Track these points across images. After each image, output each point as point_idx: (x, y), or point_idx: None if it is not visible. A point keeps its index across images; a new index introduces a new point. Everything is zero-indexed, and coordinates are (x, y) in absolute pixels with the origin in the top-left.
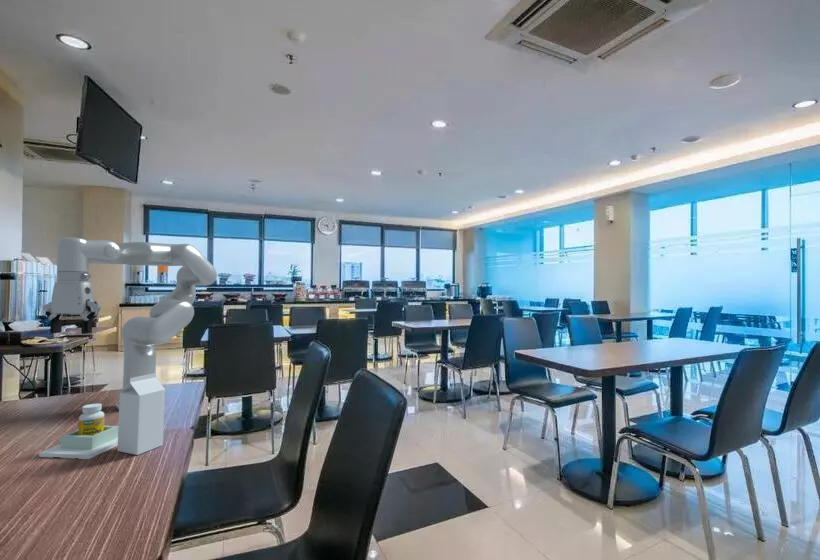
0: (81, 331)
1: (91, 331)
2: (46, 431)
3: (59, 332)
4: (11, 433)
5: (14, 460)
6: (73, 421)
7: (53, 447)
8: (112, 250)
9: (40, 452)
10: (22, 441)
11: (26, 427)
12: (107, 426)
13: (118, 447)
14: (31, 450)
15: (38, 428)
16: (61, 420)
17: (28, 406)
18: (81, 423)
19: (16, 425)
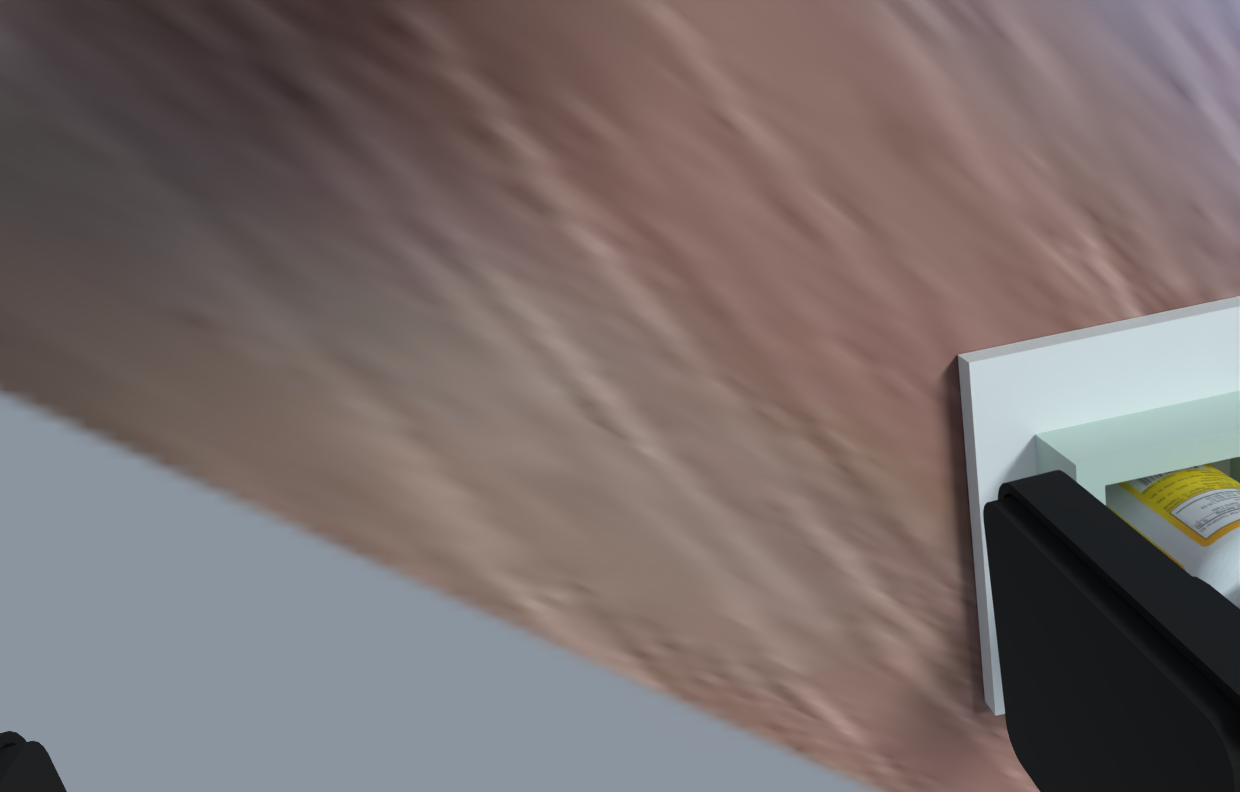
0: (1044, 789)
1: (1071, 493)
2: (536, 402)
3: (37, 770)
4: (329, 514)
5: (900, 768)
6: (470, 149)
7: (995, 640)
8: None
9: (997, 710)
10: (605, 586)
11: (264, 389)
12: (1235, 447)
13: None
14: (837, 658)
15: (391, 375)
16: (330, 161)
17: None
18: None
19: (116, 382)
